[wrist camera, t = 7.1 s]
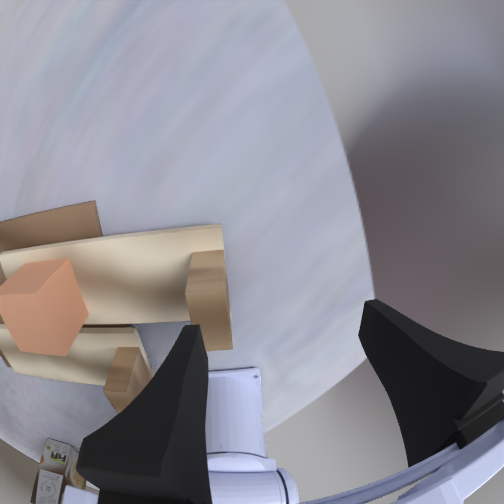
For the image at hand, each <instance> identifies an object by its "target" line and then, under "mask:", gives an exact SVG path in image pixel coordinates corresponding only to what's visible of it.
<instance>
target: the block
mask: <svg viewBox="0 0 504 504" xmlns="http://www.w3.org/2000/svg"><path fill="white" fill-rule="evenodd" d="M0 315H1V317H2V319H3V321H4V323H5V325H6V327H7V329H8V330H9V332H10V334H11V336H12V338H13V340H14V341H15V343H16V345H17V347H18V348H19V350H20V351H23V352H30V353H38V354H46V355H56V356H66V355H67V353H68V352H69V350H70V348H71V346H72V344H73V342H74V340H75V338H76V337H77V335H78V333H79V331H80V329H81V328H82V326H83V324H84V322H85V321H86V319H87V317H88V315H89V313H88V310H87V308H86V305H85V303H84V300H83V298H82V295H81V292H80V289H79V287H78V284H77V281H76V278H75V275H74V272H73V269H72V266H71V263H70V259H69V258H65V259H56V260H47V261H39V262H30V263H25V264H24V265H22V266H21V267H20V268H19V269H18V270H17V271H16V272H15V273H14V274H13V275H11V276H10V277H9V278H8V279H7V280H6V281H5V282H4V283H3V284H2V285H1V286H0Z"/></svg>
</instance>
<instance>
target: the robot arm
mask: <svg viewBox="0 0 504 504" xmlns="http://www.w3.org/2000/svg"><path fill="white" fill-rule="evenodd" d="M358 336H359V339H360V342H361V344H362V347H363V349H364V352H365V354H366V356H367V358H368V359H369V361H370V363H371V365H372V366H373V368H374V370H375V372H376V374H377V375H378V377H379V379H380V381H381V382H382V384H383V386H384V388H385V390H386V392H387V394H388V396H389V398H390V401H391V403H392V406H393V409H394V411H395V414H396V417H397V420H398V423H399V426H400V430H401V434H402V437H403V441H404V445H405V450H406V455H407V460H408V467H409V468H407V469H405V470H403V471H400V472H398V473H396V474H393V475H391V476H389V477H386V478H384V479H381V480H379V481H376V482H373V483H371V484H368V485H365V486H362V487H359V488H356V489H353V490H349V491H346V492H343V493H340V494H336V495H332V496H328V497H324V498H321V499H316V500H312V501H307V502H302V503H299V497H298V490H297V487H296V484H295V481H294V480H293V478H292V476H291V475H289V474H288V473H287V471H286V470H284V469H282V468H276V462H275V459H268V455H267V449H266V443H265V437H264V431H263V425H262V418H263V413H262V395H261V377H260V370H259V369H258V368H248V369H238V370H226V371H213V372H208V357H207V353H206V349H205V345H204V341H203V337H202V333H201V328H200V324H196V325H185V326H184V327H183V329H182V331H181V333H180V335H179V337H178V338H177V340H176V342H175V344H174V346H173V347H172V349H171V351H170V352H169V354H168V356H167V357H166V359H165V360H164V362H163V363H162V365H161V366H160V368H159V369H158V371H157V372H156V373H155V375H154V376H153V378H152V379H151V380H150V381H149V383H148V384H147V385H146V386H145V388H144V389H143V390H142V391H141V392H140V393H139V394H138V395H137V397H136V398H135V399H134V400H133V401H132V402H131V403H130V404H129V405H128V406H127V407H126V408H125V409H124V410H122V411H121V412H120V413H119V414H118V415H116V416H115V417H114V418H113V419H112V420H110V421H109V422H108V423H107V424H105V425H104V426H102V427H101V428H99V429H98V430H96V431H95V432H93V433H92V434H90V435H89V436H87V437H85V438H84V439H83V442H82V444H81V447H80V452H79V456H78V460H77V464H76V470H77V472H78V473H79V475H81V476H82V477H83V478H84V479H86V480H87V481H89V482H90V483H92V484H93V485H95V486H96V487H98V488H99V489H100V491H99V495H97V494H95V493H92V492H89V491H85V490H82V489H79V488H75V487H72V486H69V485H67V486H66V487H65V492H64V497H63V502H62V504H364V503H367V502H370V501H373V500H375V499H378V498H381V497H383V496H385V495H388V494H390V493H393V492H395V491H397V490H400V489H402V488H404V487H406V486H408V485H410V484H413V483H415V482H417V481H419V480H421V479H422V478H424V477H426V476H428V475H430V474H432V473H433V474H432V475H430V476H429V477H427V478H425V479H424V480H422V481H420V482H419V483H417V484H416V485H415V486H414V487H413V488H411V489H410V490H409V491H407V492H406V493H404V494H402V495H401V496H399V497H398V501H396V502H393V503H391V504H463V503H464V501H463V500H464V499H465V498H467V497H468V496H469V495H471V494H472V493H473V492H474V491H476V490H477V489H478V488H479V487H481V486H482V485H483V484H484V483H485V482H487V481H488V480H489V479H490V478H491V477H492V476H494V474H496V473H497V472H498V471H499V470H500V469H501V468H502V467H503V466H504V402H503V401H502V400H503V399H504V394H503V393H502V391H503V389H504V352H499V351H491V350H486V349H481V348H476V347H473V346H468V345H465V344H462V343H460V342H457V341H454V340H451V339H449V338H446V337H444V336H442V335H439V334H437V333H435V332H433V331H431V330H429V329H427V328H425V327H423V326H422V325H420V324H418V323H416V322H414V321H413V320H411V319H409V318H408V317H406V316H404V315H403V314H401V313H400V312H398V311H396V310H395V309H393V308H391V307H389V306H388V305H386V304H385V303H383V302H381V301H379V300H377V299H374V300H369V301H365V303H364V309H363V314H362V320H361V325H360V330H359V334H358ZM254 375H256V376H254Z"/></svg>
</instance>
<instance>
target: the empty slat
mask: <svg viewBox="0 0 504 504" xmlns="http://www.w3.org/2000/svg"><path fill="white" fill-rule="evenodd" d="M0 349H1V351H2V352H3V354H4V356H5V357H6V359H7V360H8V362H9V363H10V365H11V367H12V368H13V369H14V371H15V372H16V373H21V374H26V375H31V376H36V377H42V378H47V379H54V380H60V381H67V382H75V383H84V384H94V385H105V386H104V389H103V392H104V394H105V395H106V397H107V398H108V400H109V401H110V403H111V404H112V406H113V407H114V409H115V410H116V412H117V413H118V414H119V413H120V412H121V411H122V410H124V409H125V408H126V407H127V406H128V405H129V404H130V403H131V402H132V401H133V400H134V399H135V398H136V397H137V395H138V394H139V393H140V392H141V391H142V390H143V389H144V388H145V386H146V385H147V384H148V383H149V381H150V380H151V379H152V378H153V376H154V375H155V374H154V372H153V369H152V367H151V365H150V362H149V360H148V357H147V355H146V352H145V350H144V347H143V345H142V342H141V339H140V337H139V334H138V331H137V328H136V327H126V328H81V329H80V331H79V333H78V335H77V337H76V338H75V340H74V342H73V344H72V346H71V348H70V350H69V352H68V353H67V355H66V356H56V355H46V354H38V353H30V352H23V351H20V350H19V348H18V347H17V345H16V343H15V341H14V340H13V338H12V336H11V334H10V332H9V330H8V329H7V327H6V325H5V324H0Z"/></svg>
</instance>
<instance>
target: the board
mask: <svg viewBox="0 0 504 504" xmlns="http://www.w3.org/2000/svg"><path fill="white" fill-rule="evenodd" d="M97 237H103V235H102V231H101V226H100V222H99V217H98V212H97V207H96V202H95V201H89V202H84V203H79V204H74V205H69V206H64V207H59V208H55V209H50V210H46V211H42V212H37V213H33V214H29V215H25V216H21V217H17V218H13V219H10V220H6V221H2V222H0V254H1V253H2V252H5V251H10V250H16V249H22V248H29V247H35V246H41V245H48V244H54V243H61V242H68V241H75V240H82V239H89V238H97ZM6 280H7V279H6V277H5V274H4V271H3V269H2V266H1V263H0V286H1V285H2V284H3V283H4V282H5V281H6ZM0 324H5V323H4V321H3V319H2V317H1V315H0ZM126 327H130V325H129V324H83V326H82V328H126ZM0 356H1V357H2V359H3V360H4V362H5V363H6V365H7V367H11V365H10V363H9V362H8V360H7V359H6V357H5V356H4V354H3V352H2V351H1V349H0Z"/></svg>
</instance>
